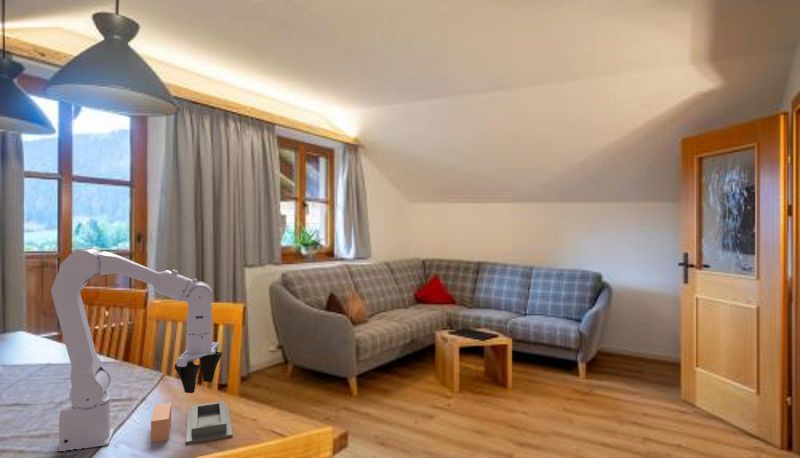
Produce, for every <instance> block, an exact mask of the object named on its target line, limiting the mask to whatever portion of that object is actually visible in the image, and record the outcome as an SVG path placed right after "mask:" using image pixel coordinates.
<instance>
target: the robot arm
mask: <svg viewBox="0 0 800 458" xmlns="http://www.w3.org/2000/svg"><path fill="white" fill-rule="evenodd" d="M98 274H99V276H105V275H112V274H119V275H121V276H124V277H128V278H130V279H135V280H137V281H140V282H143V283H145V284H149V285H151V286H152V287H153V288H154V290H155V292H156V293H158V294H160V295H163V296H166V297H168V298H171V299H173V300H177V301H180V302H186V304H187V305H188V306H187V307H188V308H187V309H188V310H187V315H186V350H185V351H184V352H183V353H182V354H181V355H180V356H179V357H176V363H175V364H174V370H175V371H176V373H177V374H178V376H179V378H180V380H181V384H182V387H183V390H184V393H186V394H193V393H195V389H196V383H197V375H198V372H199V369H200V367H201V373H202V374H201V375H202V379H203V382H205V383H212V382H213V381H214V376H215V373H216V370H217V367H218V364H219V361H220V360H221V358H222V355H223V352H221V351H219V350H220V342H219V341H218V342H216V341H213V313H212V310H213V306H212V303H213V301H214V295H213V289H212V287H211V286H210V285H209V284H208V283H206V282H205V281H198V279H197V278H193V279H191V278H189V277H187V276H184V275H182V274H179V271H178V270H176V269H172V271H171V270H168V269H167V270H163V271H156V270H154V269H151V268H149V267H146V266H145V265H142V264H140V263H137V262H136V261H132V260H130V259H128V258H126V257H123V256H120V255H119V254H115V253H113V252H110V251H105V250H104V251H102V250H100V249H98V248H97V247H87V248H84V249H81V250H76V251H73V252H71V253H70V254H69V255H68V256H67V257H66V258H65V259H64V260H63V261H62V262H61V263H60V264H59V269H58V273H57V274H56V277H55V280H54V281H53V284H52V287H51V289H50V292H51V295H52V299H53V303H54V306H55V307H54V308H55V311H56V314H57V315H56V316H57V318H58V321H59V326H60V329H61V333H62V336H63V341H64V343H65V347H66V351H67V355H68V358H69V362H70V365H71V369H70V376H69V377H70V378H69V379H70V382H71V387H70V388H71V389H70V391H69V400H70V401H71V403H70V404H66V405H63V406H62V407H61V408H60V412H59V417H58V451H64V450H71V451H74V450H73V449H77V450H82V448H84V449H89V448H90V449H91V448H96V447H101V446H108V445H109V444H110V442H111V439H112V437H113V435H114V432H115V428H111V422H110V421H111V420H110V419H111V410H110V409H111V408H110V407H111V405H110V402H111V401H110V400H111V399H110V398H111V396H109V394H108V392H107V391H106V390H107V389H108V388H109V387H110V384H111V380H112V378H111V374H110V372H109V371H107V369H105V367H104V365H103V363H102V360H101V359H100V357H98V354H97V351H96V347H95V344H94V339H93V337H92V332H91V329H90V325H89V321H88V317H87V313H86V309H85V307H84V302H83V299H82V294H81V291H82V290H83V289H84V287H86V285H87V284H88V283H89V280H91V279H92V278H94V277H95V276H96V275H98ZM198 359H199V361H200V363H201V364H195V363H194V361H196V360H198ZM64 452H65V451H64Z"/></svg>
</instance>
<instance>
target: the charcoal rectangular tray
mask: <svg viewBox="0 0 800 458" xmlns="http://www.w3.org/2000/svg"><path fill="white" fill-rule="evenodd" d="M185 433H186V434H185V445H189V444H195V443H202V442H210V441H214V440H221V439H227V438H232V437H233V429H232V421H231V414H230V406H229V405H225V400H223V401H216V402H214V401H213V402H208V403H207V402H206V403H200V404H192V409H191V410H187V417H186V430H185Z"/></svg>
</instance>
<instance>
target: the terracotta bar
mask: <svg viewBox="0 0 800 458" xmlns="http://www.w3.org/2000/svg"><path fill="white" fill-rule="evenodd" d="M171 425H172V402H168V403H167V402H165V403H158V404H154V408H153V412H152V416H151V420H150V443H155V442H160V441H161V442H163V441H167V440H170V434H171V433H170V432H171Z"/></svg>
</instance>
